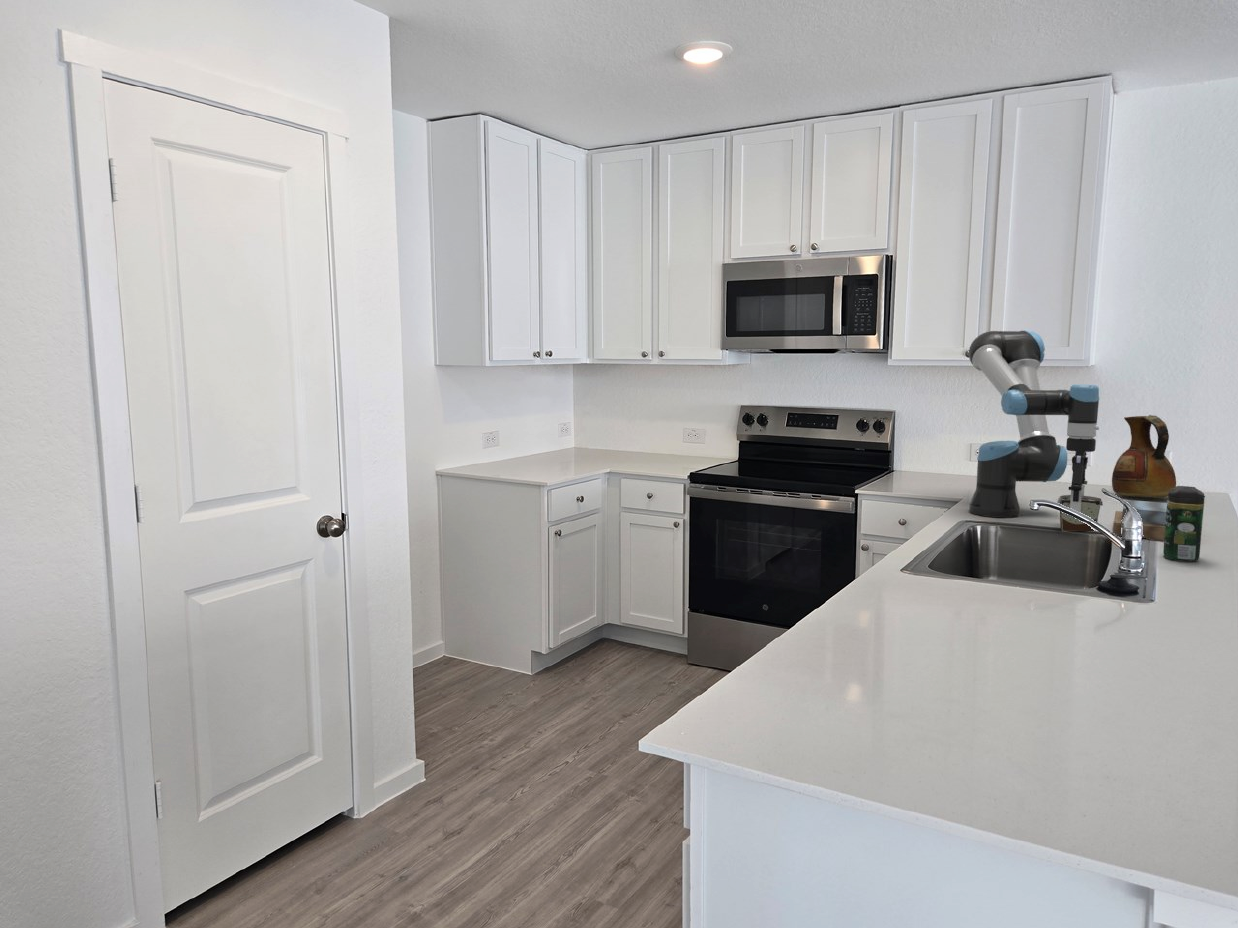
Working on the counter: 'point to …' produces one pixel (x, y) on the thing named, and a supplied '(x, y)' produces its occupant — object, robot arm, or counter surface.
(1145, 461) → the ceramic pitcher
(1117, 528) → the pedestal
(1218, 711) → the counter surface
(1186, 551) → the coffee jar
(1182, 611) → the counter surface
